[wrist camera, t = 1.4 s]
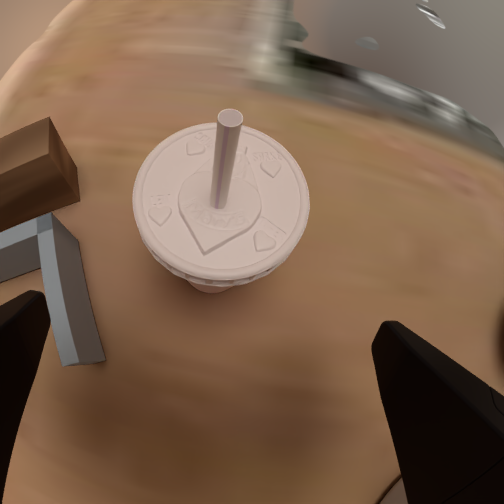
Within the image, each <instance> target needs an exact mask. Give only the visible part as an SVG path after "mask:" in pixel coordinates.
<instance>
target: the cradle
mask: <svg viewBox="0 0 504 504" xmlns="http://www.w3.org/2000/svg"><path fill="white" fill-rule="evenodd" d="M38 268H41V269H42V276H43V282H44V288H45V294H46V300H47V305H48V310H49V314H50V318H51V324H52V328H53V333H54V337H55V341H56V345H57V349H58V352H59V356H60V360H61V363H62V366H75V365H87V364H94V363H98V362H102V361H105V360H106V359H105V355H104V352H103V349H102V345H101V342H100V339H99V335H98V331H97V328H96V324H95V320H94V316H93V312H92V308H91V304H90V300H89V295H88V291H87V286H86V282H85V277H84V272H83V267H82V262H81V256H80V250H79V244H78V240H77V239H76V238H75V237H74V236H73V235H72V234H71V233H70V232H69V231H68V230H67V229H66V228H65V226H64V225H63V224H62V223H61V222H60V221H59V220H58V219H57V218H56V217H55V216H54V215H53V214H52V213H51V212H50V213H48V214H45V215H42V216H40V217H37V218H35V219H32V220H30V221H27V222H25V223H22V224H20V225H17V226H15V227H13V228H10V229H8V230H6V231H3V232H1V233H0V282H2V281H5V280H8V279H10V278H13V277H16V276H18V275H21V274H24V273H27V272H29V271H32V270H35V269H38Z"/></svg>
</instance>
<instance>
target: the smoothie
mask: <svg viewBox="0 0 504 504" xmlns="http://www.w3.org/2000/svg"><path fill="white" fill-rule="evenodd" d="M242 122H243V116H242V114H241V113H240V112H239V111H237V110H234V109H225V110H222V111H221V112H220V113H219V114H218V120H217V123H205V124H199V125H195V126H191V127H188V128H186V129H183V130H181V131H178V132H176V133H174V134H173V135H171V136H169V137H168V138H166V139H165V140H163V141H162V142H161V143H160V144H158V145H157V146H156V147H155V148H154V149H153V150H152V151H151V153H150V154H149V155H148V156H147V158H146V159H145V161H144V162H143V164H142V166H141V167H140V169H139V172H138V174H137V177H136V180H135V184H134V189H133V211H134V216H135V219H136V223H137V226H138V229H139V232H140V235H141V238H142V241H143V243H144V244H145V245H146V247H147V248H148V250H149V251H150V252H151V254H152V255H153V257H154V258H155V259H156V260H157V261H158V262H159V263H160V264H162V265H163V266H164V267H165V268H167V269H168V270H169V271H170V272H172V273H173V274H174V275H177V276H179V277H181V278H184V279H186V280H187V281H188V282H189V283H190V284H191V285H192V286H193V287H195V288H196V289H198V290H200V291H202V292H206V293H220V292H223V291H225V290H227V289H229V288H230V287H232V286H235V285H242V284H247V283H250V282H252V281H254V280H257V279H259V278H261V277H264V276H266V275H268V274H269V273H271V272H272V271H273V270H274V269H276V268H277V267H278V266H279V265H281V264H282V263H283V262H284V261H285V260H286V259H287V258H288V256H289V255H290V253H291V252H292V250H293V249H294V248H295V246H296V245H297V243H298V241H299V240H300V238H301V236H302V234H303V232H304V230H305V227H306V224H307V220H308V216H309V207H310V205H309V191H308V187H307V183H306V180H305V177H304V175H303V173H302V170H301V169H300V167H299V165H298V164H297V162H296V161H295V159H294V158H293V157H292V155H291V154H290V153H289V152H288V151H287V150H286V149H285V148H284V147H283V146H282V145H281V144H279V143H278V142H277V141H275V140H274V139H273V138H271V137H269V136H268V135H266V134H264V133H262V132H260V131H258V130H255V129H253V128H250V127H246V126H243V125H242Z"/></svg>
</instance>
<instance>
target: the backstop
mask: <svg viewBox="0 0 504 504" xmlns="http://www.w3.org/2000/svg"><path fill="white" fill-rule="evenodd" d="M78 201H80V196H79V187H78V178H77V167H76V165H75V164H74V162H73V160H72V158H71V156H70V155H69V153H68V151H67V149H66V147H65V145H64V144H63V142H62V140H61V138H60V136H59V134H58V132H57V130H56V129H55V127H54V125H53V123H52V121H51V119H50V117H47V118H45V119H42V120H40V121H37V122H35V123H33V124H30V125H28V126H26V127H24V128H21V129H19V130H17V131H15V132H13V133H11V134H9V135H6V136H4V137H2V138H0V232H1V231H3V230H6V229H8V228H10V227H13V226H15V225H18V224H20V223H22V222H25V221H27V220H30V219H32V218H35V217H37V216H40V215H43V214H45V213H48V212H50V211H53V210H56V209H58V208H61V207H64V206H67V205H69V204H72V203H75V202H78Z"/></svg>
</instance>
